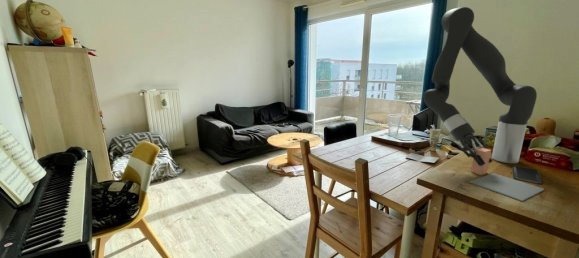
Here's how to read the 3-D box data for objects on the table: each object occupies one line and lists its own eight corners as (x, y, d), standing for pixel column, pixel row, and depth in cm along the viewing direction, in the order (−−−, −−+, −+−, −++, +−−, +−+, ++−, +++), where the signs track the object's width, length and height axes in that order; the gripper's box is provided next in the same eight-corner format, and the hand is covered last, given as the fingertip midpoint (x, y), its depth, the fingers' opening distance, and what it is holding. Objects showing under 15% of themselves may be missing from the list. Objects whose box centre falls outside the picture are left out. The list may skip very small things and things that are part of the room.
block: (477, 169, 102) (481, 147, 100) (486, 172, 99) (491, 150, 97) (470, 171, 100) (474, 149, 98) (480, 175, 97) (485, 151, 95)
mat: (493, 174, 98) (493, 173, 98) (544, 190, 85) (544, 189, 85) (469, 182, 91) (470, 181, 90) (522, 201, 78) (522, 200, 78)
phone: (513, 177, 93) (512, 165, 104) (512, 179, 94) (512, 167, 105) (542, 183, 88) (539, 169, 99) (542, 185, 89) (538, 172, 100)
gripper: (456, 124, 98) (485, 162, 91) (476, 120, 104) (505, 156, 97) (440, 134, 104) (467, 171, 96) (461, 130, 110) (487, 164, 103)
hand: (486, 163), depth 97 cm, fingers closed on block, 4 cm apart
